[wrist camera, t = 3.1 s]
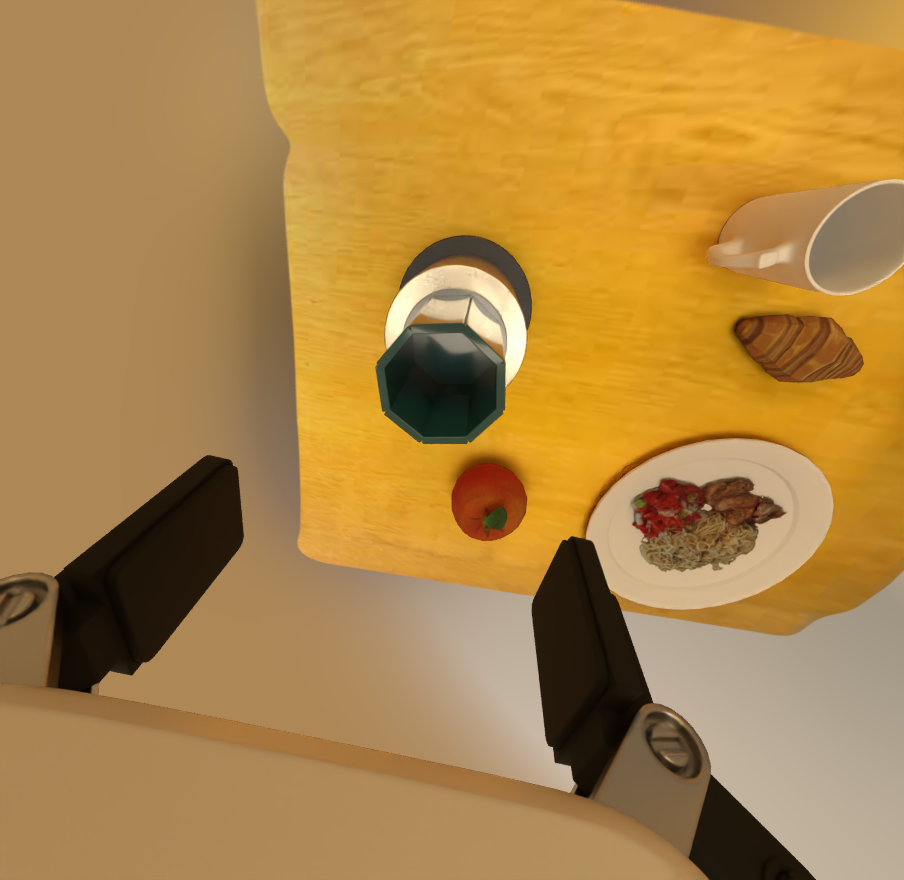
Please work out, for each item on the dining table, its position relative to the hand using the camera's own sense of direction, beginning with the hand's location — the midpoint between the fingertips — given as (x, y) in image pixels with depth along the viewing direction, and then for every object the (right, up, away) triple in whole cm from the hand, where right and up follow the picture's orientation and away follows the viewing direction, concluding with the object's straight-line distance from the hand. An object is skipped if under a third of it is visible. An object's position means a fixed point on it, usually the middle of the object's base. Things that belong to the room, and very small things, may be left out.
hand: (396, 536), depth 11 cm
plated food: (+35, -9, +42) cm, 55 cm away
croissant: (+37, +13, +29) cm, 48 cm away
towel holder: (+3, +17, +30) cm, 34 cm away
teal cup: (+2, +10, +18) cm, 20 cm away
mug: (+28, +21, +25) cm, 43 cm away
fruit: (+7, -3, +41) cm, 41 cm away
